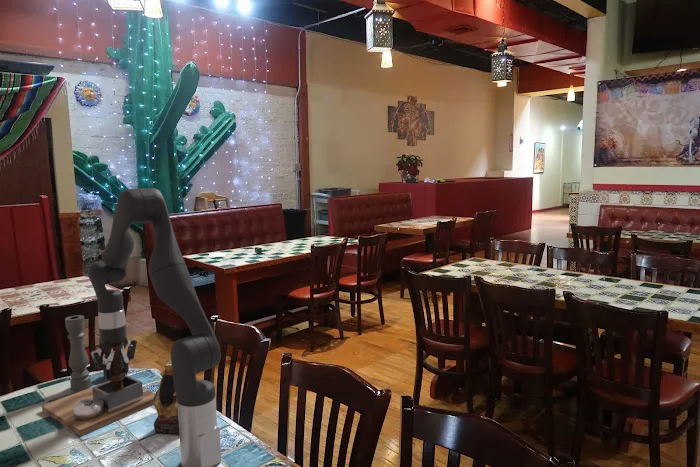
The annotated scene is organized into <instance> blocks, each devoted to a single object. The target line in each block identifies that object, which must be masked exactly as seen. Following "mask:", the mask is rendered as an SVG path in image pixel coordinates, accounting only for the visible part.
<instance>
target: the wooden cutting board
mask: <svg viewBox="0 0 700 467" xmlns="http://www.w3.org/2000/svg"><path fill="white" fill-rule="evenodd" d="M106 382H109V381H108V380H107V381H105V382H103V383H99V384H98V385H101V384H104V383H106ZM98 385H95V386H91V387H90V388H88V389H86V390H83V391H77V392H74V393H73V394H70V395H67V396H64V397H62V398H59V399H57V400H54V401H51V402H47V403H45V404H42V405H41V410H42V412H43V413H45V414H46V415H48V416H50V417H51V418H52V419H53V420H56V422H58V423H60V424H61V425H63V426H64V427H66V428H68V429H69V430H71V431H72V432H74V433H75V434H77V435H78V436H79V437H83V436H84V435H86V434H87V435H88V433H89V434H90V433H91V432H93V431H96V430H98V429H101V428H103V427H105V426H107V425H110V424H112V423H114V422H117V421H119V420H121V419H123V418H126V417H128V416H130V415H133V414H134V413H137V412H138V411H142V410H144V409H145V408H149V407H151V406H154V403H155V399H154V396H155V394H156V392H153V391H150V390H149V389H146V388H144V387H142V389H143V399H140V400H138V401H136V402H133V403H131V404H129V405H126V406H124V407H121V408H119V409H117V410H114V411H112V412H110V413H108V412H106V411H105V410H104V412H103V413H102V414H101V415H100V416H98V417H95V418H92V419H88V420H77V419H75V417H74V408H73V407H74V405H75V404H76V403H78V402H79V401H82V400H84V399H88V398H93V391H92V388H93V387H96V386H98Z"/></svg>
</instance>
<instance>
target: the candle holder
mask: <svg viewBox="0 0 700 467" xmlns="http://www.w3.org/2000/svg"><path fill="white" fill-rule="evenodd" d="M64 320H65V321H64V323H65V329H66V331H67V332H68V333H69V334H68V335H67V339H68V340H69V341H70V352H69V358H68V367H69V368H70V369H71V371H72V373H71V374H70V380H69V382H70V391H72V392H74V393H78V392H80V391H83V390H86V389H89V388H91V387H92V381H91V375H90V371H89V370H88V369H87V368H88V367H87V366H88V365H89V362H90V359H89V355H88V353H87V351H86V348H85V344H84V337H85V336H86V334H85V332H83V331H84V329H85V326H86V324H85V316H84V315H81V314H77V315H70V316H67V317H65V319H64Z"/></svg>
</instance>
